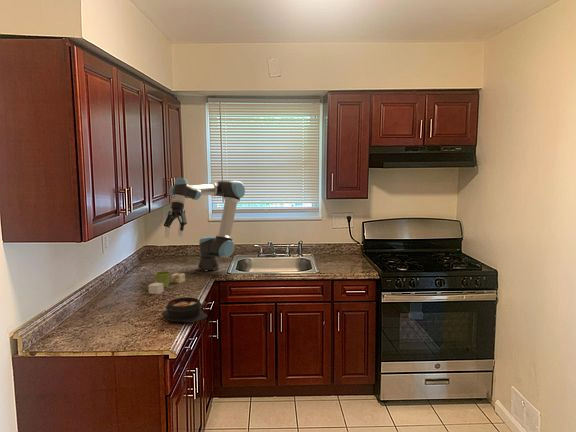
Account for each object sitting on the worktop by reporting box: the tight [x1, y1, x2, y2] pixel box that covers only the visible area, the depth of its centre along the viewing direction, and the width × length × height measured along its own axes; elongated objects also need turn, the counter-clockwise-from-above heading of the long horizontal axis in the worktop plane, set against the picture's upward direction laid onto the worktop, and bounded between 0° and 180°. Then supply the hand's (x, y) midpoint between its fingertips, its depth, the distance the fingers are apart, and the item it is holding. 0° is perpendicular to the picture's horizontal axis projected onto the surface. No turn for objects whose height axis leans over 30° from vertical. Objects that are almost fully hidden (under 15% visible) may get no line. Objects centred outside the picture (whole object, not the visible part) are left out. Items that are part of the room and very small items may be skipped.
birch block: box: [171, 272, 186, 284], centre depth 282 cm, size 6×6×5 cm
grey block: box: [148, 282, 165, 295], centre depth 259 cm, size 6×6×5 cm
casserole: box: [161, 296, 208, 324], centre depth 214 cm, size 25×19×8 cm
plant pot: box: [154, 270, 171, 289], centre depth 271 cm, size 9×9×9 cm
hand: (173, 237), depth 266 cm, fingers open, 13 cm apart
